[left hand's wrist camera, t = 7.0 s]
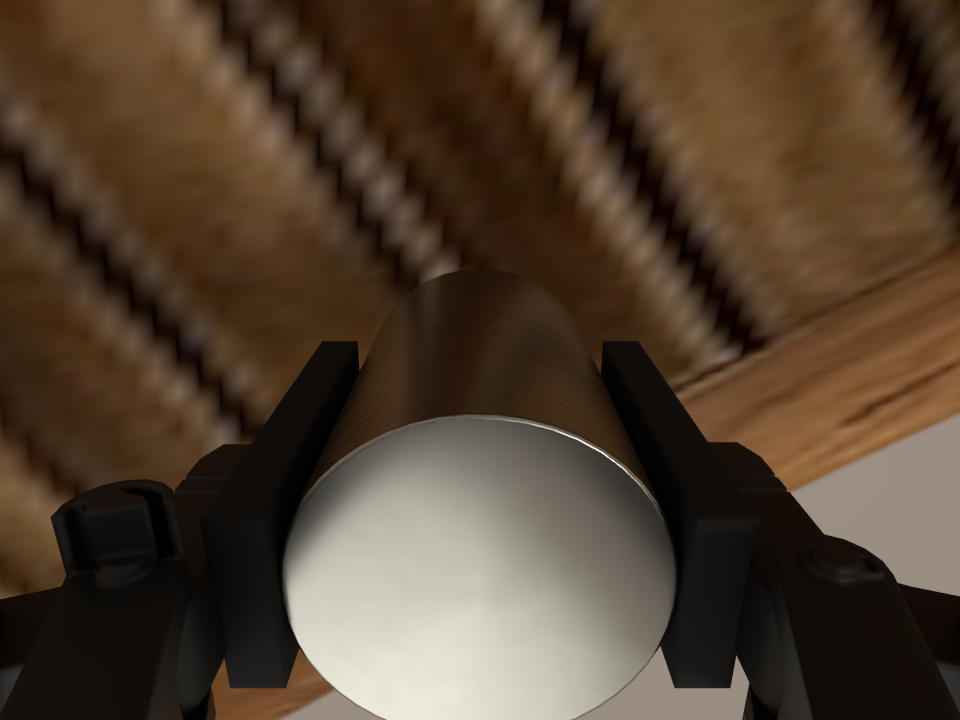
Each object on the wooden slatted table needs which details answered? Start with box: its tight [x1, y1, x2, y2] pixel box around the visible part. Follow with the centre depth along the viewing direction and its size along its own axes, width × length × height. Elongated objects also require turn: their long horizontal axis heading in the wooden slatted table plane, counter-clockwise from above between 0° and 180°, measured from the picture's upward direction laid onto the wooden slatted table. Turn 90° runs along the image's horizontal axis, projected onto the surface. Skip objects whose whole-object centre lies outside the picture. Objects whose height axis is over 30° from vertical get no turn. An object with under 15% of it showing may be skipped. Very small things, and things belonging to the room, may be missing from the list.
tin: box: [279, 269, 679, 720], centre depth 12 cm, size 5×5×8 cm
